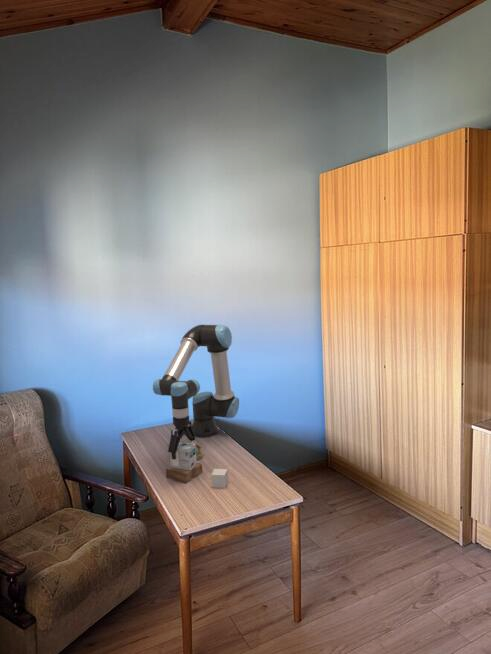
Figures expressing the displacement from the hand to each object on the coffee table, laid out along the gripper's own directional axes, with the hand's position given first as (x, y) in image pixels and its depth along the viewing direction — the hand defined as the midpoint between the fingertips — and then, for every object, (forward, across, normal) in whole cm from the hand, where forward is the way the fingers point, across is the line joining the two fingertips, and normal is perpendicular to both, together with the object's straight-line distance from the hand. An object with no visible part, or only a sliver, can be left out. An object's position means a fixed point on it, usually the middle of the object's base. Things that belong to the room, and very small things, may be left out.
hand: (183, 459), depth 234 cm
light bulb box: (+4, 0, 0) cm, 4 cm away
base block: (+8, 0, 0) cm, 8 cm away
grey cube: (+8, +2, +20) cm, 22 cm away
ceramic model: (+8, -21, -8) cm, 24 cm away
